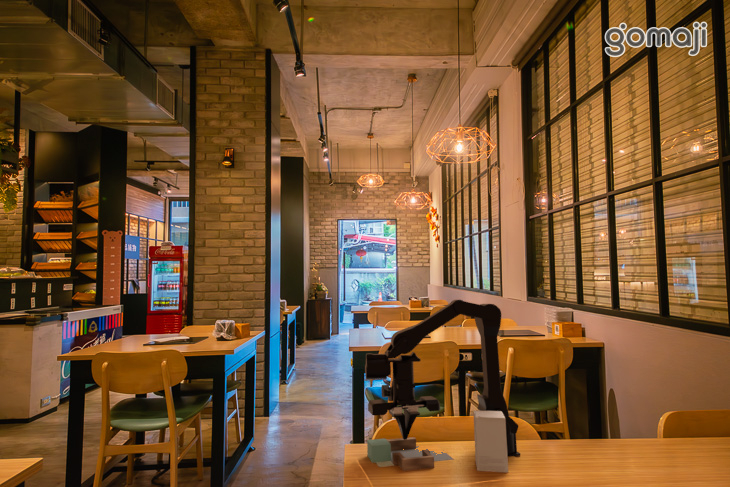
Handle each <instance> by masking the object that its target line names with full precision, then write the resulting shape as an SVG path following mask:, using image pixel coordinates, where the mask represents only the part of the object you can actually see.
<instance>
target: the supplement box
mask: <svg viewBox="0 0 730 487" xmlns="http://www.w3.org/2000/svg"><path fill="white" fill-rule="evenodd" d="M473 429H474V430H473V431H474V432H473V433H474V449H475V450H474V452H475V453H474V456H475V465H476V470H477V472H492V473H493V472H494V473H509V460H508V458H509V457H508V456H507V439H506V421H505V417H504V415H503V413H502V411H480V410H473Z"/></svg>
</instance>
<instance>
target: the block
mask: <svg viewBox="0 0 730 487" xmlns="http://www.w3.org/2000/svg"><path fill="white" fill-rule="evenodd" d="M387 440H388V439H386V438H377V439H376V438H375V439H367V440H366V445H367V457H368V459H369V460H370V462H371V463H372V464H373V463H376V462H383V461H391V444H390V443H389V442H388V441H387Z"/></svg>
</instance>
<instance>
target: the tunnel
mask: <svg viewBox="0 0 730 487" xmlns="http://www.w3.org/2000/svg"><path fill="white" fill-rule="evenodd" d="M386 440H387V441H388V442H389V443H390V444H391V451H393V450H403V449H414V448H416V446H417V438H416V437H415V436H414V437H408V438H407V439H405V440H404V439H403V437H401V438H391V439H390V438H389V439H386ZM392 457H393V464H394V465H395V466H398V467H399V468H400V469H401V470H402V472H407V471H417V470H426V469H427V470H429V469H434V468H435V461H434V456H432V455H431V454H430V451H429V450H428V449H426V450H422V457H412V458H405V457H404V456H403V455H402V454H401V453H400V452H394V453H392Z"/></svg>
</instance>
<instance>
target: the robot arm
mask: <svg viewBox="0 0 730 487" xmlns="http://www.w3.org/2000/svg"><path fill="white" fill-rule="evenodd" d="M460 315H462V316H466V317H468V318H472V319H474V321H475V326H476V328H477V330H478V334H479V336H480V337H479V338H480V347H481V361H482V364H481V365H482V376H483V390H482V393H481V394H479V393H478V394H477V395H476V397H477V401H478V403H477V404H478V406H477V411H502V413H503V415H504V417H505V421H506V439H507V456H508V458H509V457H519V456H521V453H520V452H519V451H517V450H518V449H517V448H518V447H517V446H518V445H517V444H518V443H517V433H518V429H519V424H518V423H517V422H516V421H515V420H514V419H513V418H511V416H510V415H509V414H510V413H509V409H508V404H507V402H506V399H505V396H504V393H503V391H502V386H501V385H502V384H501V383H502V382H501V370H500V360H499V359H500V358H499V357H500V356H499V347H498V344H499V343H498V341H499V340H498V335H499V332H500V329H501V324H502V323H501V322H502V311H501V308H499V307H498V305H495V304H494V303H480V304H478V303H473V302H470V301H469V302H468V301H466V300H465V301H464V300H463V299H453V300H451V301H450V302H449V303H448V304H447V305H445V306H444V307H442V308H440V309H439V310H437V311H436V312H434V313H432V314H430V315H429V316H428V317H426V318H424V319H423V320H421V321H420V322H418V323H416V324H413V325H411V326H407V327H406V328H402V329H401V330H398V331H395V332H394V333H393V334H392V335H391V338H390V345H389V346H388V347H387V349H386V350H385V352H384V353H370V352H369V353H368V352H367V353H366V354H365V364H364V372H365V375H364V376H365V380H367V381H368V380H387V377H389V376H391V374H392V381H391V386H390V385H389V384H381V391H380V392H381V397H382V398H380V399H370V400H369V401H368V403H367V411H368V412H369V413H370V414H371V415H372V416H375V417H376V416H385V415H386V414H387V413H389V414H390V415H391V416H392V417H393V418H394V419H395V421H396V422H397V425H398V428H399V431H400V434H401V438H403V439H404V440H405V439H407V438H409V434H410V432H411V430H412V427H413V424H414V423H415V420H416V419H417V417H418V416H421V413H420V411H419V409H422V408H426V409H427V410H428V411H429V412H440V411H441V403H440V400H439V399H437V398H436V397H434V396H432V395H429V396H428V395H427V396H420V397H419V399H418V400H416V399H415V388H416V383H415V378H414V377H415V375H414V372H415V370H414V362H417V363H418V362H421V358H419V356H417V354H416V352H414V351H413V350H414V349H415V348H416V347H417V346H418V345H419V344H420V343H421V342H422V341H423V340H424V339H425V338H426V337H427V336H428V335H430V334H431V333H433V332H435V331H436V330H438V329H439V328H441V327H442V326H444V325H445V324H447V323H449V322H450V321H452V320H454V319H455V318H457V317H458V316H460ZM409 353H410V354H409ZM398 357H399V358H398ZM391 364H392V366H391ZM391 368H392V370H391ZM391 372H392V373H391ZM383 398H387V399H388V402H386V401H385V400H384V399H383Z"/></svg>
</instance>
